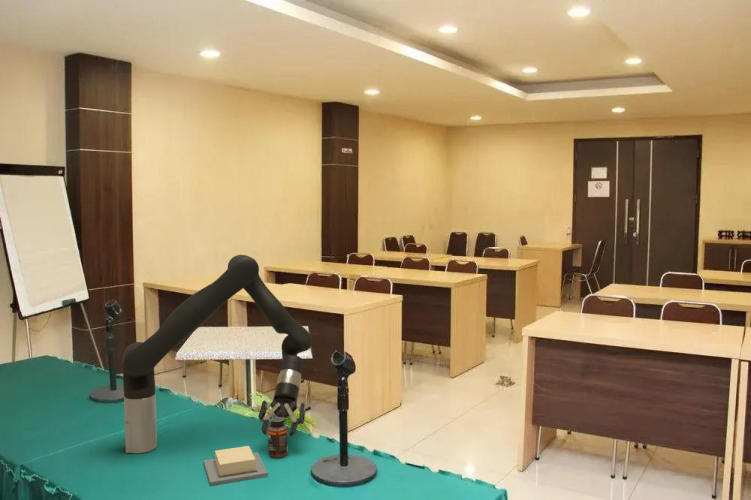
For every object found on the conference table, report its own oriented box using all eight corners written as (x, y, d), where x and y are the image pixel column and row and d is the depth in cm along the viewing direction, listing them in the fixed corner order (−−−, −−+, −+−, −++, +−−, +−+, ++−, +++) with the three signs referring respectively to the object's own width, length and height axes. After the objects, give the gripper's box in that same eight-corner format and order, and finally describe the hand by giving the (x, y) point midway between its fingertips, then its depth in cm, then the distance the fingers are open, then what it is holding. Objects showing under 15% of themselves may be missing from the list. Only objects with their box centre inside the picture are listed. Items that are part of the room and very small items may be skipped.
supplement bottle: (291, 452, 197) (290, 416, 196) (282, 459, 191) (281, 423, 190) (273, 449, 199) (273, 414, 198) (264, 457, 193) (264, 421, 192)
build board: (210, 485, 175) (209, 470, 174) (203, 463, 188) (203, 448, 188) (267, 476, 180) (267, 461, 180) (257, 455, 194) (257, 441, 194)
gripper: (264, 380, 203) (252, 428, 193) (307, 382, 201) (298, 431, 191) (269, 391, 209) (258, 438, 198) (311, 393, 207) (302, 441, 196)
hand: (277, 434), depth 195 cm, fingers open, 8 cm apart
